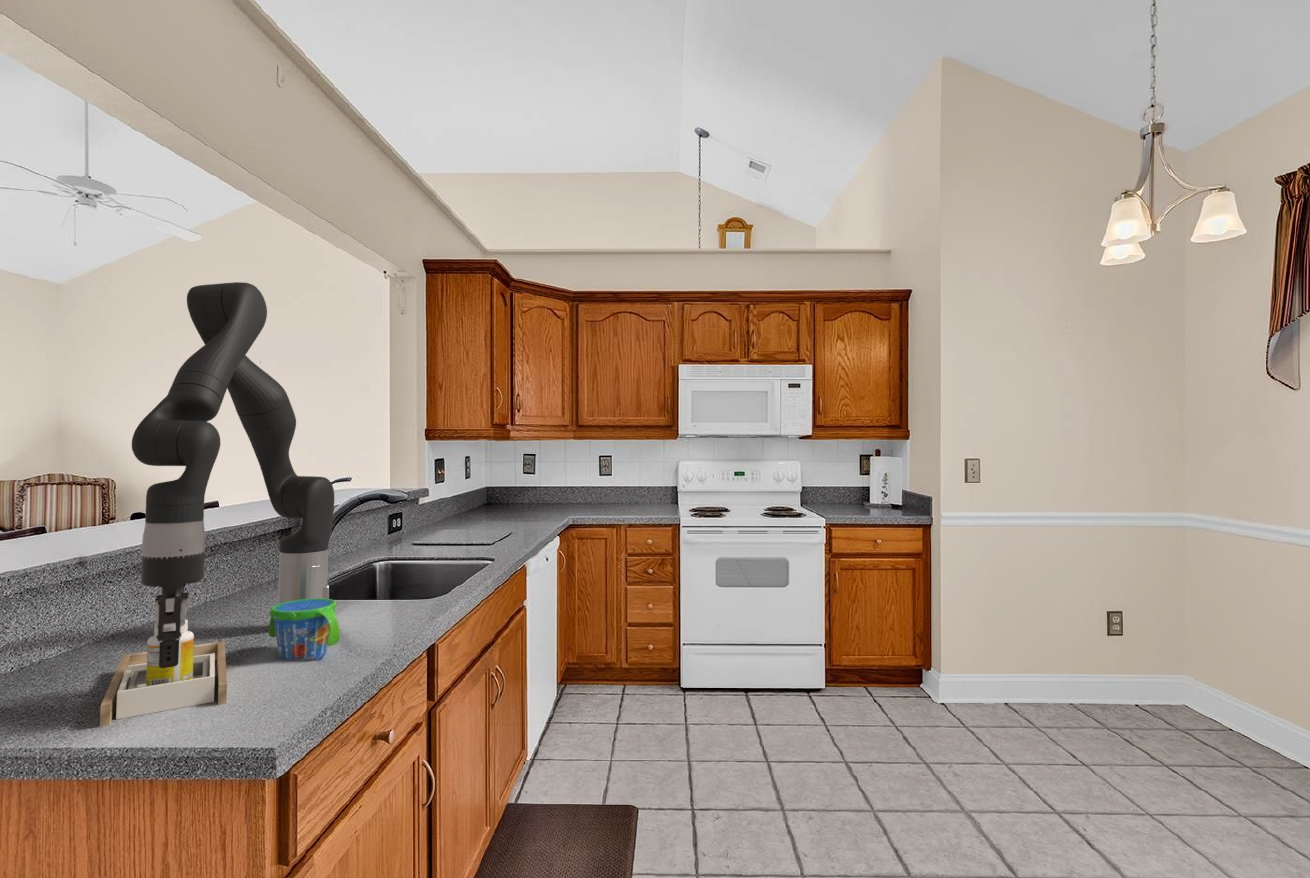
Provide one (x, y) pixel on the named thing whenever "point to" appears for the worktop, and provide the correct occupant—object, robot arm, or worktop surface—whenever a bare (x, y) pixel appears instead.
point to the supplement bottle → (184, 664)
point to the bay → (140, 658)
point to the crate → (165, 689)
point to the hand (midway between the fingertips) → (170, 658)
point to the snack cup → (304, 628)
